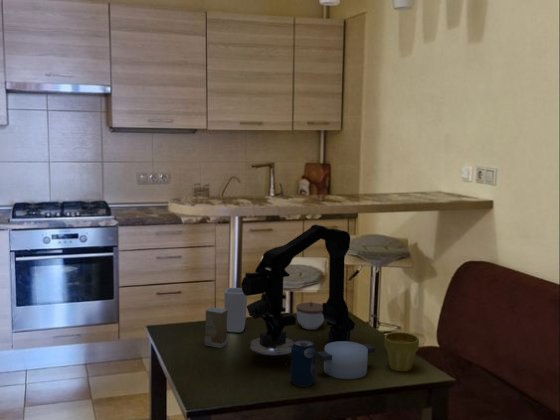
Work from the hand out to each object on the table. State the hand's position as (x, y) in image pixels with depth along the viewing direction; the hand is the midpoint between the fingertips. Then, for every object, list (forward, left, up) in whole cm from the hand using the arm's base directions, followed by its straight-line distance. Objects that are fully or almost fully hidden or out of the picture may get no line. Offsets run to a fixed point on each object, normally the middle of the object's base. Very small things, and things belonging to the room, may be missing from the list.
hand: (272, 339), depth 203 cm
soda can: (0, +19, -7) cm, 21 cm away
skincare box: (+11, -20, -7) cm, 24 cm away
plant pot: (-33, +22, -7) cm, 40 cm away
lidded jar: (-28, -24, -7) cm, 38 cm away
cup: (-1, -31, -7) cm, 32 cm away
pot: (-16, +17, -7) cm, 24 cm away
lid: (0, 0, -2) cm, 2 cm away
